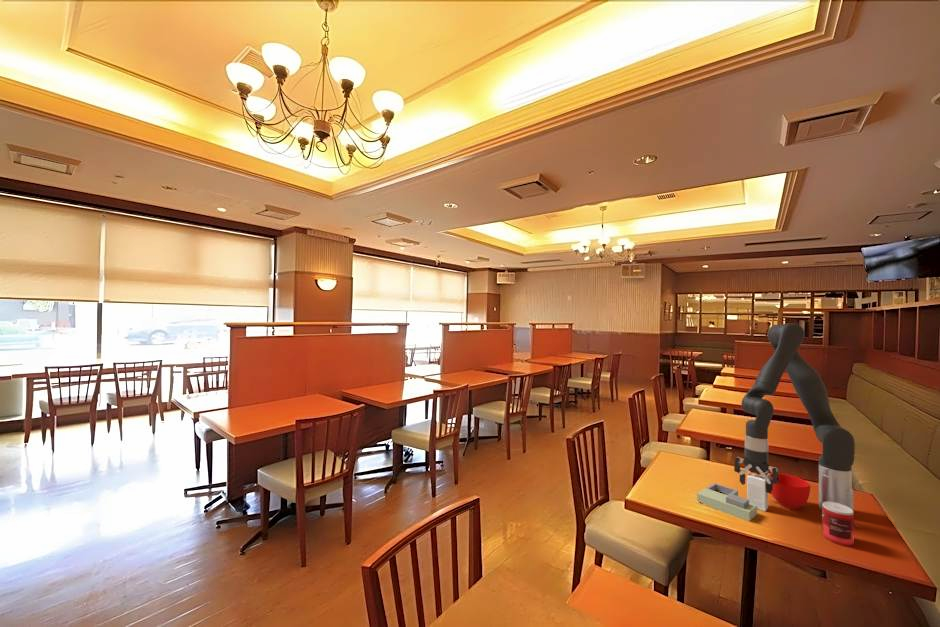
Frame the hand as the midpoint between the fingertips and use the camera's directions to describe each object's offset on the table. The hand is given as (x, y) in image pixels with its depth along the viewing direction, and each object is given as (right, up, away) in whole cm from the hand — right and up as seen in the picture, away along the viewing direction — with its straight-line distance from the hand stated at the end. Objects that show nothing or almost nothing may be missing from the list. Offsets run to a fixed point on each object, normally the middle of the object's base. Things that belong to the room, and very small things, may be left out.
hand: (755, 488), depth 152 cm
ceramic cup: (+12, -7, +2) cm, 14 cm away
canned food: (+11, -7, -22) cm, 26 cm away
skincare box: (0, -7, -1) cm, 7 cm away
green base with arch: (-9, -7, +2) cm, 12 cm away
